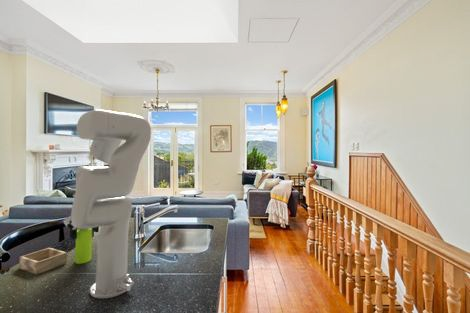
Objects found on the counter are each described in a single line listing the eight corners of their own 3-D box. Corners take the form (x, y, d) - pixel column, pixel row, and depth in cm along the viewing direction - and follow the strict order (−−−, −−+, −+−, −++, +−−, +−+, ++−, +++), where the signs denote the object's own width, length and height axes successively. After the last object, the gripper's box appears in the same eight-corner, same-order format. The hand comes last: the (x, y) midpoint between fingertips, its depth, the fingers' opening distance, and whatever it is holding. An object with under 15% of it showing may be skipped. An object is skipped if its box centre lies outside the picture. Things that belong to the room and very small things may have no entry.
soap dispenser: (85, 264, 97) (86, 216, 97) (71, 262, 99) (72, 214, 99) (96, 258, 103) (97, 212, 103) (83, 257, 105) (84, 211, 105)
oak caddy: (66, 263, 98) (66, 252, 98) (36, 274, 88) (37, 262, 88) (49, 257, 103) (49, 247, 103) (19, 268, 93) (19, 256, 93)
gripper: (71, 199, 92) (69, 243, 92) (110, 193, 108) (108, 230, 108) (58, 197, 94) (57, 240, 95) (98, 191, 110) (97, 228, 111)
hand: (84, 235), depth 101 cm, fingers open, 9 cm apart
